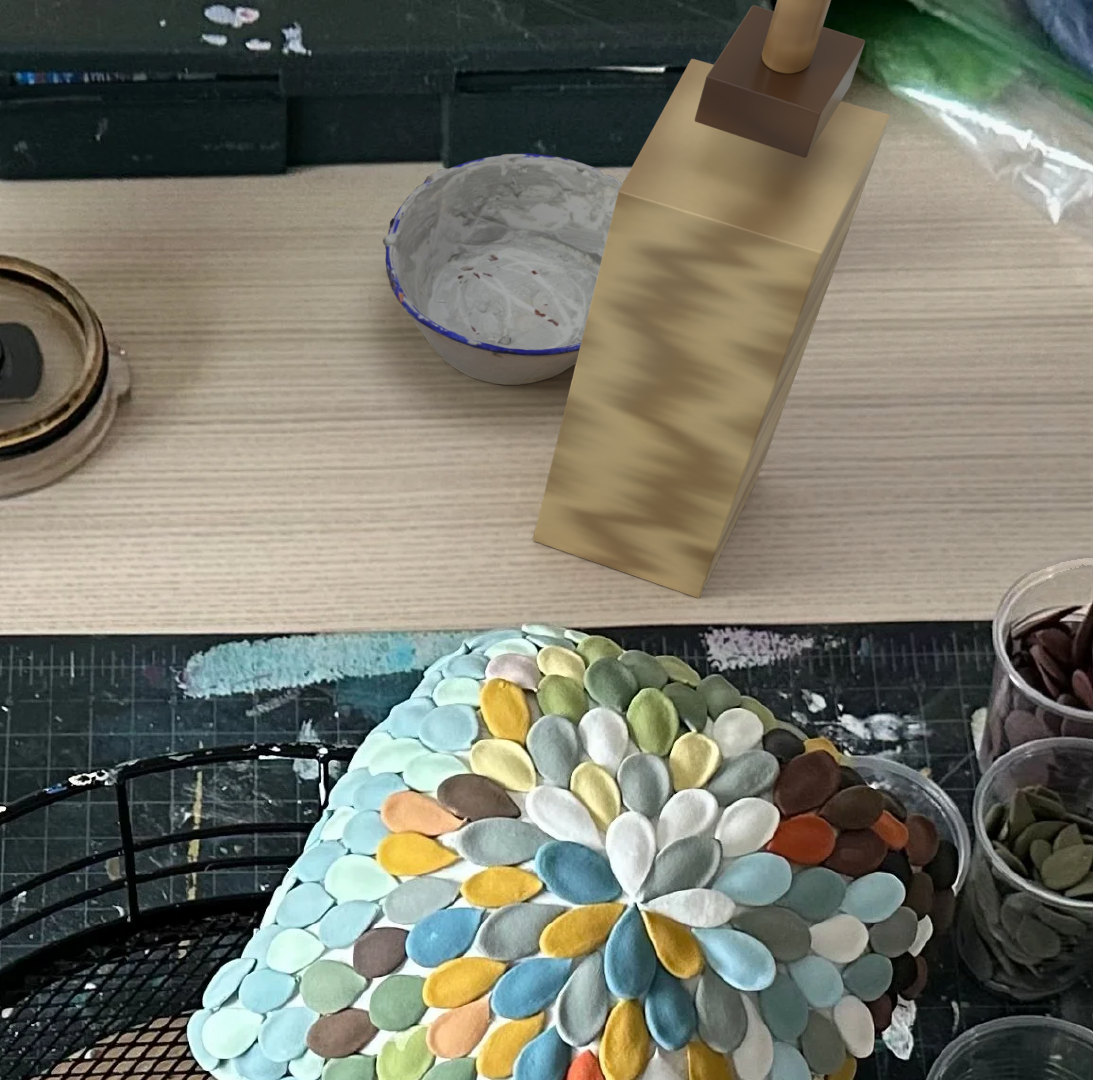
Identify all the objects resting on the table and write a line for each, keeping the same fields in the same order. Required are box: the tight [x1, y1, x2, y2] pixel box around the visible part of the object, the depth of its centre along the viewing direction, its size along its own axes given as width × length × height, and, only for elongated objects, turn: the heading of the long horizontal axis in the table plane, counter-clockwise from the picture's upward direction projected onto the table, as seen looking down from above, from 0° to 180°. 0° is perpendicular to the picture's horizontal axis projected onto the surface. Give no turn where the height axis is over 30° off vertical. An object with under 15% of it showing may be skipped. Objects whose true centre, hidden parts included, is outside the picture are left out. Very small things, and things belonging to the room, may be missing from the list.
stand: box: [532, 58, 891, 599], centre depth 97 cm, size 8×8×20 cm
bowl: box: [382, 152, 623, 386], centre depth 109 cm, size 13×13×5 cm
